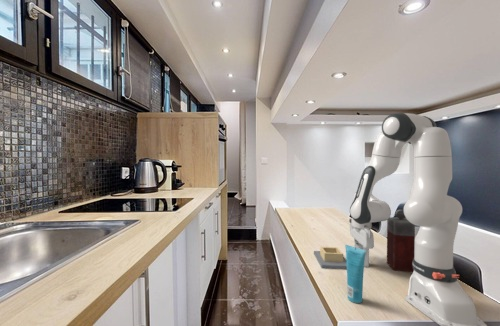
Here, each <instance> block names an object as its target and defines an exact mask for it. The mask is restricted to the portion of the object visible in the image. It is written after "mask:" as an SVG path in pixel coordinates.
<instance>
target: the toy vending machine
mask: <svg viewBox="0 0 500 326" xmlns="http://www.w3.org/2000/svg"><path fill="white" fill-rule="evenodd" d="M394 216H395V217H392V216H390V217H389V219H388V220H386V225H387V226H386V264H388V266H389V268H391V269H392V270H393V271H397V272H404V273H405V272H406V273H413V271H414V269H413V258H414V247H415V237H416V225H414V224H412V223H410V222H409V221H408V220H407V218H406V217H405V215H404V209H397V210H395V211H394Z"/></svg>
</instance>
